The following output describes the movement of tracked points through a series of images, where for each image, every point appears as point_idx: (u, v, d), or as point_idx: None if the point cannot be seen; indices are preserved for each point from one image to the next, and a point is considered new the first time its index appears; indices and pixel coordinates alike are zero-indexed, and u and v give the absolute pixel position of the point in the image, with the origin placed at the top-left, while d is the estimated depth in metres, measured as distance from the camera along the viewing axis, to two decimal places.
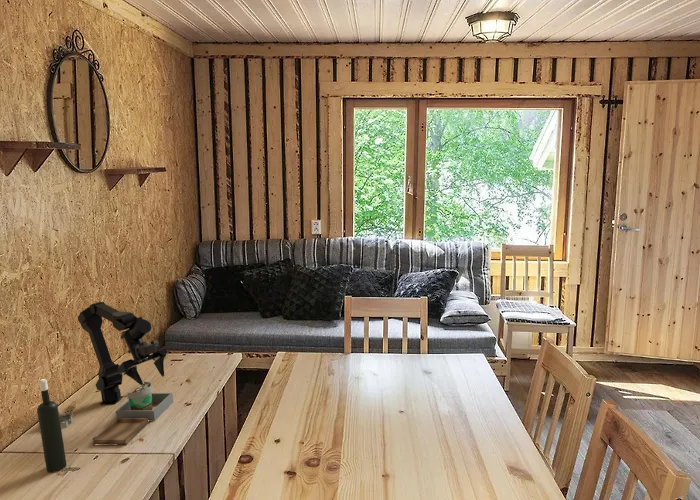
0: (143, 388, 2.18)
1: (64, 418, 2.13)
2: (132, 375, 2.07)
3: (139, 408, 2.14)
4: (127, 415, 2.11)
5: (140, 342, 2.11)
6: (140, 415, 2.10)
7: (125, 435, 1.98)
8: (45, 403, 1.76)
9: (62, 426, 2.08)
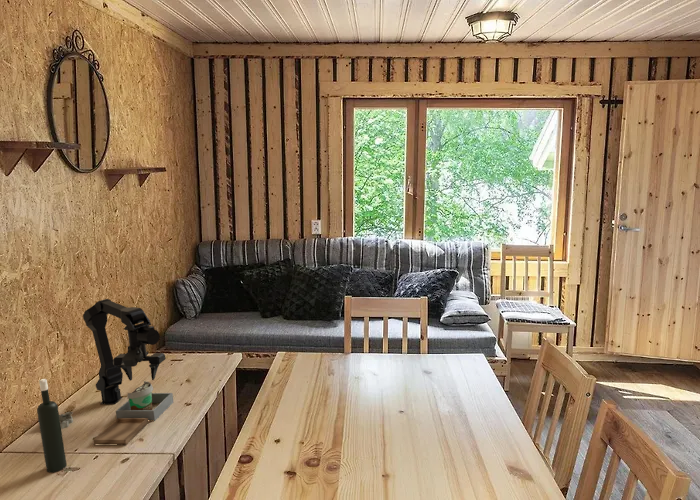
0: (143, 388, 2.18)
1: (64, 418, 2.14)
2: None
3: (139, 408, 2.14)
4: (127, 415, 2.11)
5: (134, 345, 2.12)
6: (140, 415, 2.10)
7: (125, 435, 1.98)
8: (45, 403, 1.76)
9: (63, 426, 2.09)
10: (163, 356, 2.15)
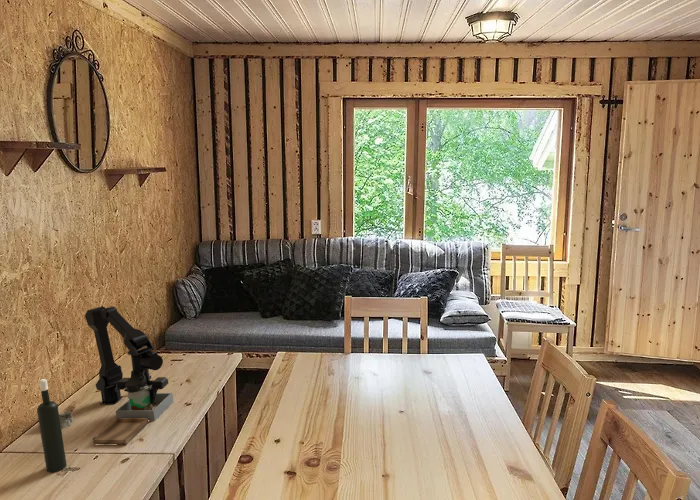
0: (143, 388, 2.18)
1: (63, 418, 2.14)
2: None
3: (139, 408, 2.14)
4: (127, 415, 2.11)
5: (137, 370, 2.13)
6: (140, 415, 2.10)
7: (125, 435, 1.98)
8: (45, 403, 1.76)
9: (65, 425, 2.09)
10: (166, 381, 2.17)
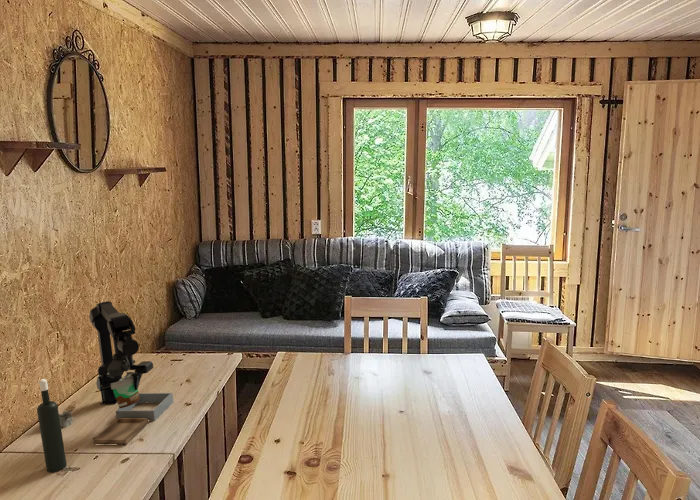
0: (126, 377, 2.06)
1: (62, 418, 2.14)
2: None
3: (125, 398, 2.02)
4: (127, 415, 2.11)
5: (120, 354, 2.01)
6: (140, 415, 2.10)
7: (125, 435, 1.98)
8: (45, 403, 1.76)
9: (67, 424, 2.10)
10: (151, 365, 2.05)
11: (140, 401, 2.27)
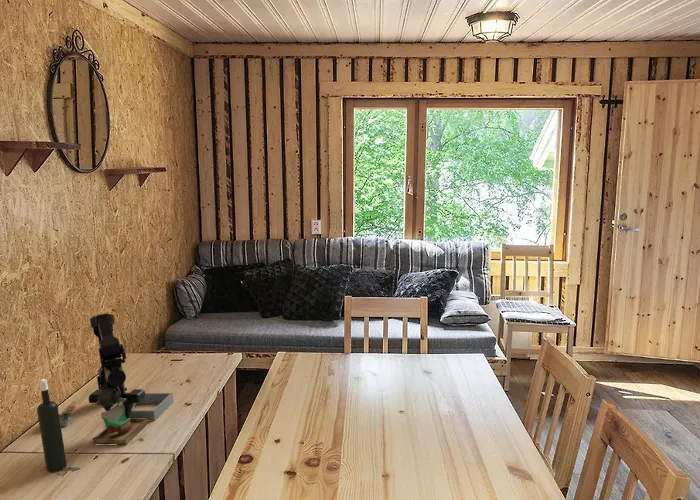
0: (118, 405, 2.00)
1: (62, 418, 2.14)
2: None
3: (116, 427, 1.97)
4: None
5: None
6: (140, 415, 2.10)
7: (125, 435, 1.98)
8: (45, 403, 1.76)
9: (68, 423, 2.10)
10: (143, 393, 1.99)
11: (140, 401, 2.27)
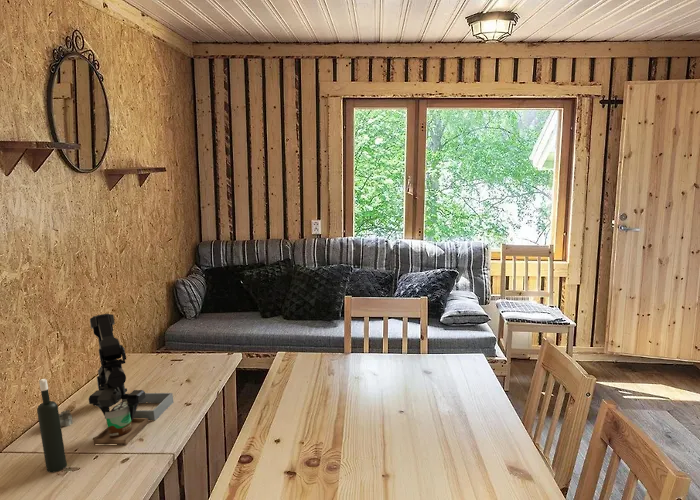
0: (122, 406, 2.00)
1: (61, 417, 2.14)
2: (104, 405, 2.01)
3: (118, 428, 1.97)
4: None
5: None
6: (140, 415, 2.10)
7: (125, 435, 1.98)
8: (45, 403, 1.76)
9: (69, 422, 2.11)
10: (143, 394, 1.99)
11: (140, 401, 2.27)
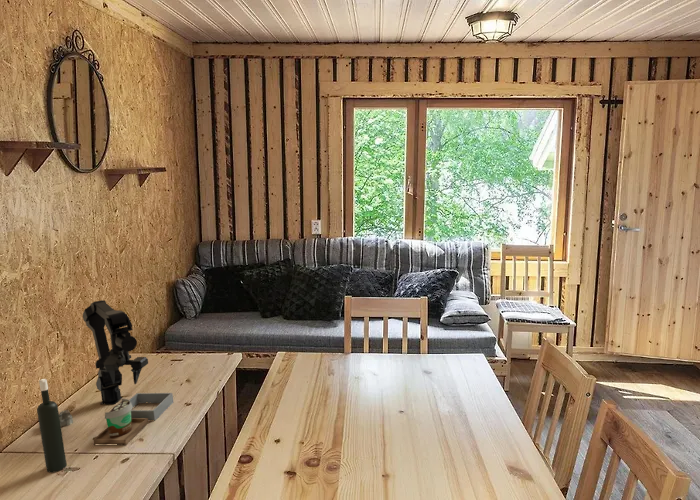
0: (122, 406, 2.00)
1: (60, 418, 2.14)
2: (110, 370, 2.16)
3: (118, 428, 1.97)
4: None
5: (116, 349, 2.10)
6: (140, 415, 2.10)
7: (125, 435, 1.98)
8: (45, 403, 1.76)
9: (70, 422, 2.12)
10: (146, 360, 2.13)
11: (140, 401, 2.27)
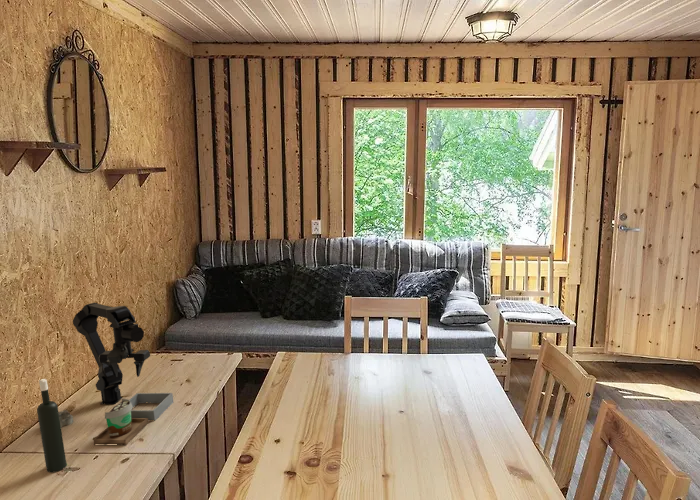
0: (122, 406, 2.00)
1: (59, 418, 2.14)
2: None
3: (118, 428, 1.97)
4: None
5: (119, 343, 2.16)
6: (140, 415, 2.10)
7: (125, 435, 1.98)
8: (45, 403, 1.76)
9: (70, 421, 2.12)
10: (148, 353, 2.20)
11: (140, 401, 2.27)
